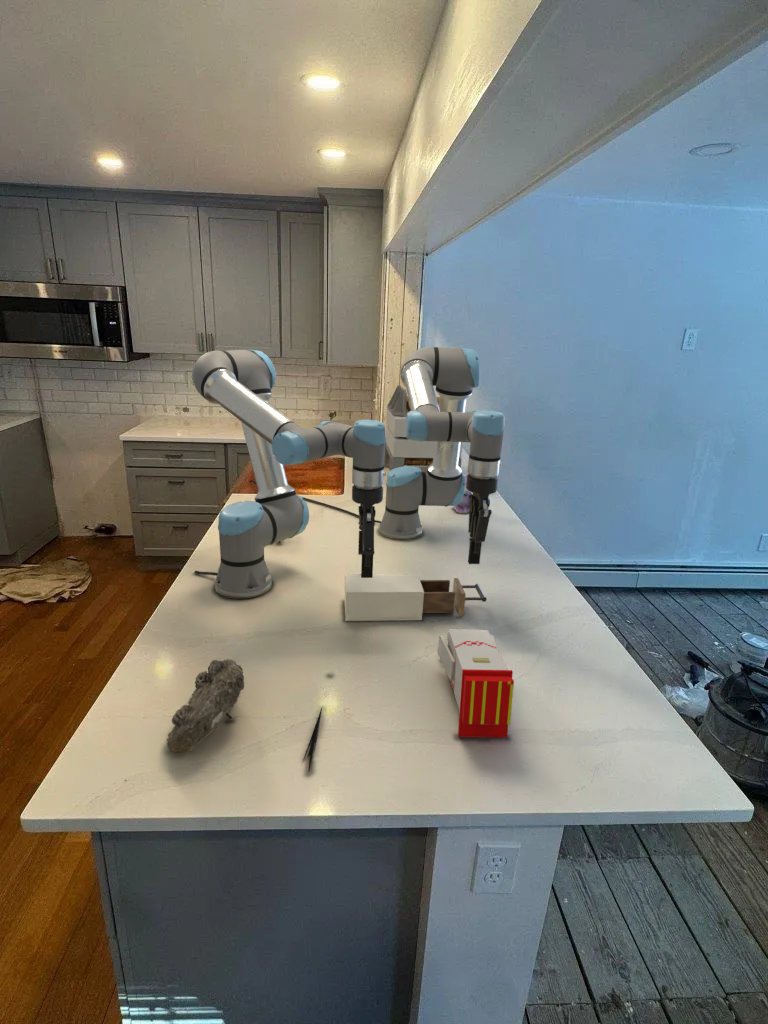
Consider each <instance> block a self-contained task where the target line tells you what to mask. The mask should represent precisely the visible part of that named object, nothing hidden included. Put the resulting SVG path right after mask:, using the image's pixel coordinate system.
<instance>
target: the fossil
mask: <svg viewBox="0 0 768 1024" xmlns="http://www.w3.org/2000/svg"><path fill="white" fill-rule="evenodd" d="M243 670H244V669H243V667H242V665H240V664H237V662H236V661H235V660H234V659H232V658H231V659H227V658H226V659H224V660H223V661H222V660H217V659H212V660H211V661H210V663H209V665H208V666H207V671H201V672H199V673H198V674H197V675H196V676H195V680H194V684H195V685H194V687H195V689H194V690H193V693H192V694H191V697H190V698H189V700H188V704H184V705H182V706H181V707H180V709H177V710H176V711H175V713H174V715H173V716H172V718H171V723H172V724H173V727H172V730H171V731H170V732H168V734H167V738H166V741H167V742H166V745H167V749H168V750H169V751H173V752H174V753H176V754H178V753H182V752H188V751H189V752H192V751H193V750H195V748H196V747H197V746H199V744H200V743H201V742H203V741H204V740H205V739H206V738H207V737H208V736H209V735H210V734H211V733H212V732H214V730H215V729H217V727H218V726H219V724H220V722H221V721H222V720H223V719H224V718H225V716H226V717H227V719H229V720H233V717H232V715H230V714H229V710H230V709H231V708H234V706H235V704H236V703H237V702H238V699H239V697H240V695H241V693H242V691H243V690H245V689H244V688H245V675H244V671H243Z"/></svg>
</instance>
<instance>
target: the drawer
mask: <svg viewBox="0 0 768 1024" xmlns="http://www.w3.org/2000/svg"><path fill="white" fill-rule="evenodd" d="M420 582H421V585H422V588H423V591H424V598H423V611H422V614H454V611H455V610H454V608H455V609H456V611H457V614H458V616H464V614H465V605H466V604H465V603H466V601H481V602H482V603H485V602H487V600H488V599H487V597H486V595H485V593H484V591H483V589H482V587H481V586H480V584H479V583H475V584H469V585H468V584H467V585H465V584H464V585H463V584H462V583H461V580H460V579H459V577H454V578H453V582H452V591H450V586H451V585H450V584H451V580H450V579H420ZM464 589H475V590H476V592H477V594H478V596H476V597H475V596H472V597H471V596H470V597H468V596H466V594H467V593H466V591H465V590H464Z"/></svg>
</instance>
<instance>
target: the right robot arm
mask: <svg viewBox="0 0 768 1024" xmlns="http://www.w3.org/2000/svg"><path fill="white" fill-rule="evenodd" d="M479 358H480V357H479V354H478V353H477V351H476V350H475V349H473V348H465V347H445V346H424V347H421V348H418V349H416V350H415V351H413V352H411V353H410V354H408V356H406V358H405V359H404V361H403V362H402V365H401V367H400V381H401V383H402V385H403V386H404V387H405V390H406V393H407V396H408V399H409V404H410V409H411V411H409V412H408V413H407V416H406V427H405V429H406V437H407V438H408V439H409V440H414V441H420V442H423V441H435V446H434V456H433V463H432V464H430V465H428V466H427V471H422V469H421V468H420V466H407V465H404V467H398V468H395V469H392V470H391V471H390V470H388V473H387V474H386V482H385V487H386V488H385V489H386V490H385V504H384V505H385V507H384V508H385V509H384V513H383V515H382V519H381V520H377V519H375V524H376V523H377V524H379V526H378V533H379V534H380V535H381V536H382V537H385V538H387V539H389V540H395V541H410V540H415V539H418V538H420V537H421V536H422V535H423V525H422V524H421V518H420V515H419V507H420V506H427V507H428V506H429V507H454V506H456V505H458V504H459V503H460V502H461V500H462V498H463V495H464V491H465V482H466V480H465V477H466V475H465V474H464V473H463V471H462V467H461V468H460V467H459V466H458V461H459V453H460V446H461V442H463V443H470V444H469V454H468V462H467V474H468V473H469V475H468V476H467V484H466V488H467V490H468V491H470V492H471V493H472V495H469V513H468V529H467V531H468V533H469V546H468V554H467V555H468V556H467V563H468V565H480V562H481V554H482V543H485V542H486V537H487V533H488V528H489V522H490V518H491V515H492V513H493V512H492V509H489V507H490V506H491V499H490V495H493V494H495V493H496V492H497V491H498V483H499V477H498V476H499V473H500V467H501V466H502V465H503V463H502V461H501V457H502V449H503V441H504V433H505V429H506V426H505V422H506V421H505V419H506V417H505V415H504V413H502V412H500V411H496V410H489V409H488V410H487V409H483V410H481V409H480V410H476V409H474V410H469V411H466V406H467V399H468V398H469V397H470V396H472V394H473V389H475V388H478V387H479V385H480V381H481V364H480V359H479ZM434 387H435V388H434ZM436 393H437V395H438V397H440V399H439V406H438V402H437V399H436V397H437V395H436ZM248 482H249V483H253V484H254V485H256V486H257V483H256V480H254V479H250V480H249V481H248ZM301 497H302V498H303V501H307V502H311V503H315V504H318V505H322V506H324V507H328V508H332V509H334V510H338V511H340V512H342V513H346V514H348V515H352V516H354V517H357V518H359V514H357V513H355V512H352V511H349V510H347V509H343V508H341V507H338V506H334V505H331V504H328V503H325V502H321V501H317V500H314V499H311V498H307V497H305V496H301Z"/></svg>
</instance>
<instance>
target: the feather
mask: <svg viewBox="0 0 768 1024" xmlns="http://www.w3.org/2000/svg"><path fill="white" fill-rule="evenodd" d="M329 675H330V676H331V675H332V674H331V673H330V674H329ZM322 710H323V707H321V708H320V710H319V713H318V716H317V719H316V723H315V725H314V728H313V731H312V733H311V737H310V739H309V742H308V745H307V748H306V751H305V754H304V757H303V760H302V763H301V767H302V765H303V763H304V761H305V758H308V759H309V760H308V762H307V763H308V764H307V766H308V771H310V770H311V766H312V765H311V764H312V760H313V757H315V756H314V755H315V751H316V749H315V746H317V739H318V733H319V729H320V722H321V717H322V712H323V711H322ZM313 754H314V755H313ZM306 755H307V757H306Z"/></svg>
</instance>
